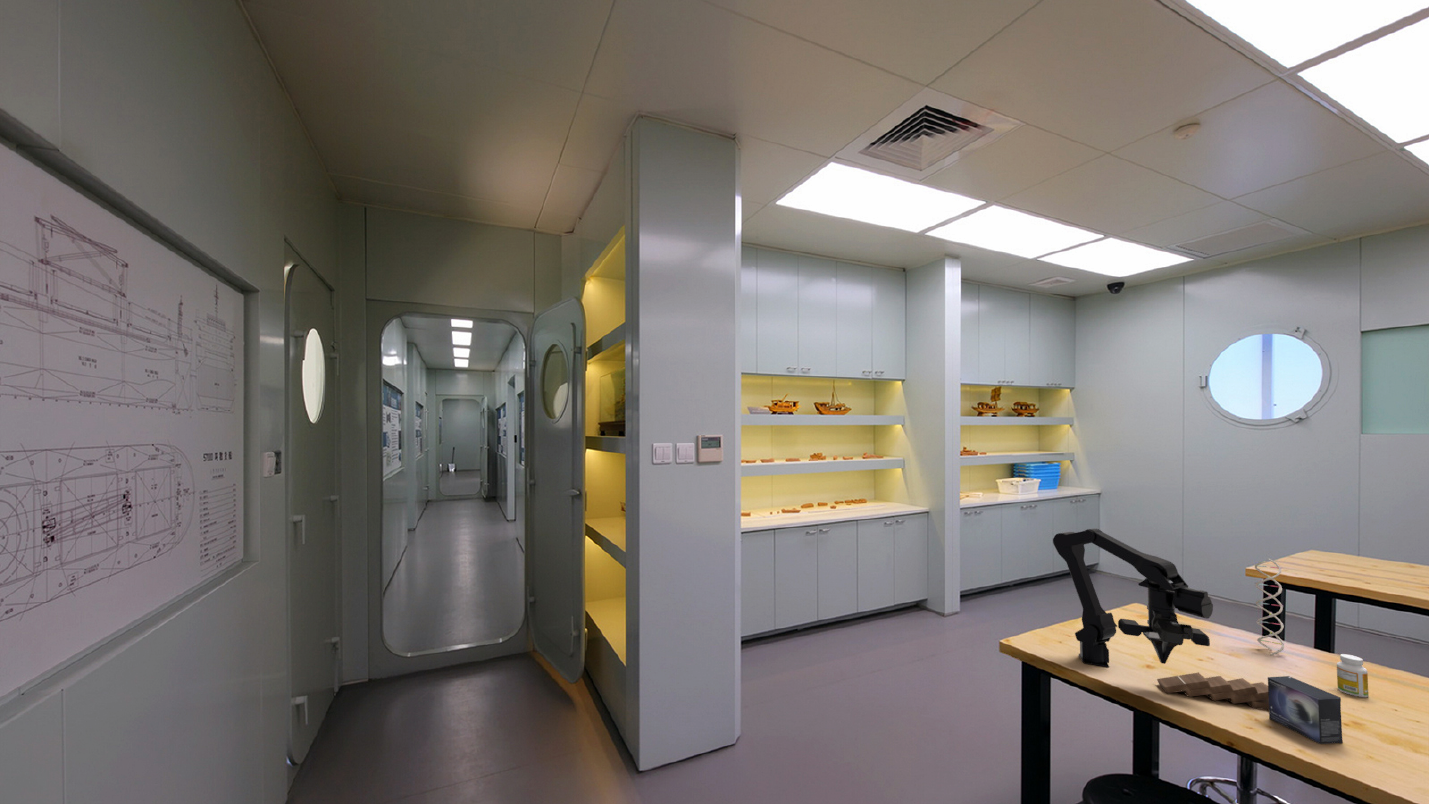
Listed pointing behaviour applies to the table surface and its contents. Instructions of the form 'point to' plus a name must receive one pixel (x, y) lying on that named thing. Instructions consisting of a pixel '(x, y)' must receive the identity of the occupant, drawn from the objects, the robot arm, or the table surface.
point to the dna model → (1271, 604)
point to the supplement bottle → (1352, 676)
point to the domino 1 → (1183, 682)
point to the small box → (1305, 709)
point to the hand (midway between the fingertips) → (1162, 663)
